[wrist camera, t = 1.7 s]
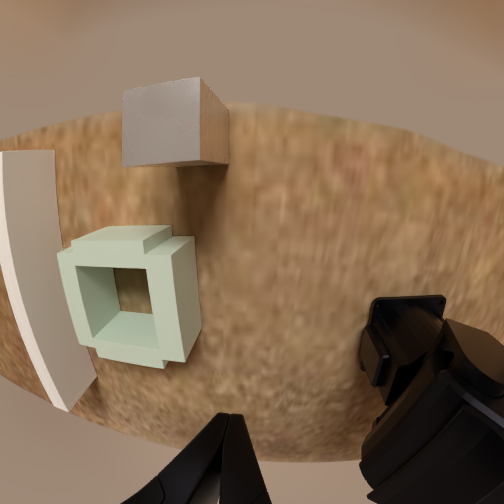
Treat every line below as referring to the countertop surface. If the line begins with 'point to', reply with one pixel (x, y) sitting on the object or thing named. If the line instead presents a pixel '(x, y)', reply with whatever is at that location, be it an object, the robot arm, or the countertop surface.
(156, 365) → the socket block
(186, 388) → the countertop surface
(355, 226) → the countertop surface
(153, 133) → the grey square block
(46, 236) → the backstop wall
